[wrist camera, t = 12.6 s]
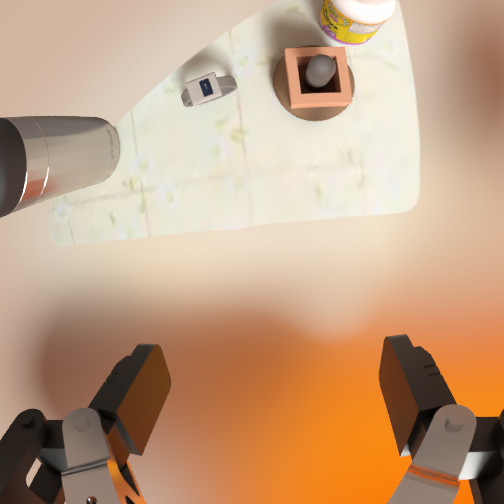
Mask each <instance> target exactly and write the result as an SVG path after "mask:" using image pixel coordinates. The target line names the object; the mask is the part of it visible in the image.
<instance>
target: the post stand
mask: <svg viewBox="0 0 504 504" xmlns="http://www.w3.org/2000/svg"><path fill="white" fill-rule="evenodd" d="M304 47H320V46H302V47H298V48H304ZM347 65H348V64H347ZM335 70H336V65H335V62H334V61H333V59H332V58H331V57H329V56H327V55H324V54H318V55H315V56H314V57H312V58H311V60H310V61H309V64H308V65H304V66H298V74H299V82H300V90H301V94H311V93H334V85H333V78H332V76H333V75H334V73H335ZM348 72H349V79H350V87H351V95H352V97H353V93H354V78H353V74H352V71H351V69H350V67H349V66H348ZM273 81H274V89H275V93H276V96H277V98H278V100H279V102H280V103H281V105H282V106H283V107H284V108H285V109H286V110H287V111H288V112H290V113H291V114H292V115H294V116H296V117H298V118H301V119H304V120H308V121H323V120H327V119H330V118H333V117H334V116H336V115H338V114H340V113H341V112H342V111H343V110H344V109H346V107H347V106H348V105H349V104H348V105H346V106H336V107H310V108H293V109H291V105H290V96H289V88H288V80H287V72H286V64H285V55H284V56H283V57H282V58H281V60H280V61H279V63H278V64H277V66H276V69H275V72H274V78H273Z"/></svg>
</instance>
